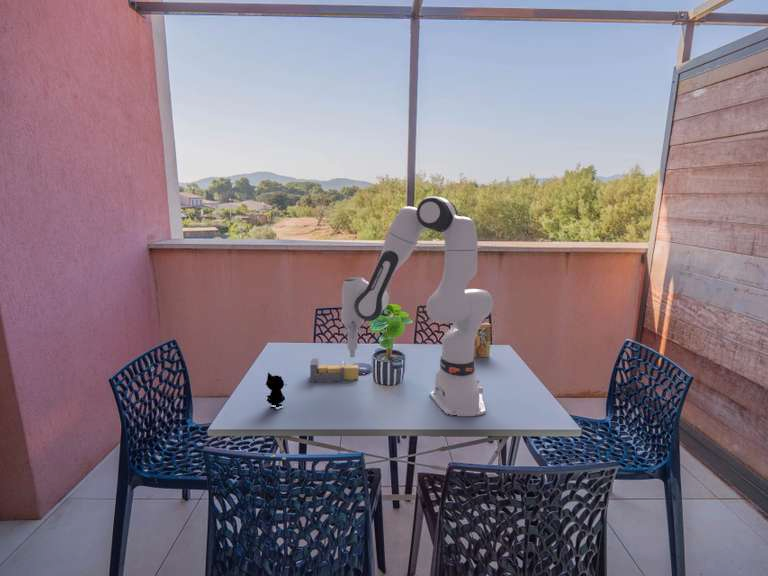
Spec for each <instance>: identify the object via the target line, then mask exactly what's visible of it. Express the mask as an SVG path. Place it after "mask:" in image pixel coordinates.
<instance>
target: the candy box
mask: <svg viewBox="0 0 768 576" xmlns="http://www.w3.org/2000/svg"><path fill="white" fill-rule="evenodd" d="M492 327H493V325H492V324H491V323H489V322H482V324H481V326H480V328H479V330H478V332H477V335H476V338H475V345H474V355H473V359H476V357H477V358H488V357H489V358H490V353H491V352H490V351H491V340H492V339H491V338H492Z"/></svg>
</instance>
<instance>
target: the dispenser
mask: <svg viewBox="0 0 768 576" xmlns="http://www.w3.org/2000/svg"><path fill="white" fill-rule="evenodd" d="M309 365H310V366H309V368H310V375H309V376H310V382H311V381H343V382H345V380H344V365H345V360H342V361H341V365H342V373H328V365H327V364H319V358H311V361H310V364H309Z"/></svg>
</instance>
